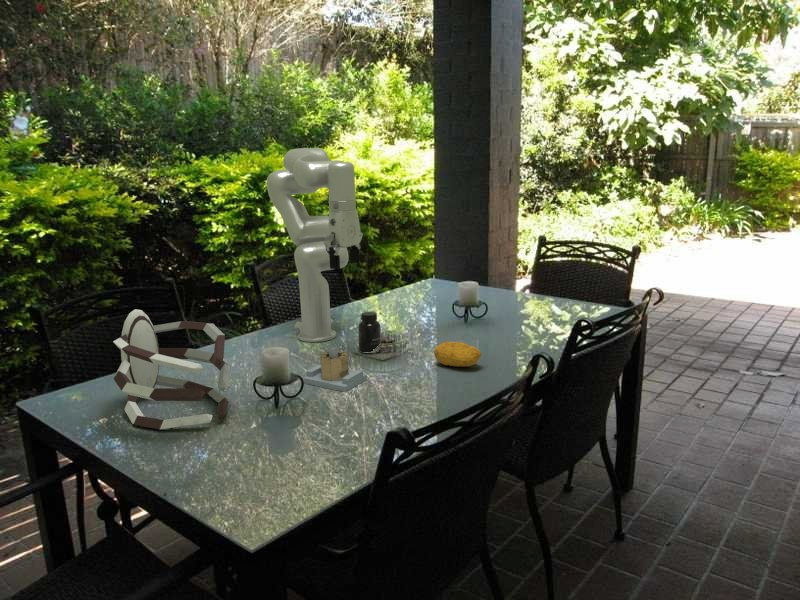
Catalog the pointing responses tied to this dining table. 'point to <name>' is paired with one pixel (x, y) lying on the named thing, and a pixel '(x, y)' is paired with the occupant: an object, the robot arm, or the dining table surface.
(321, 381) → the shaft stand
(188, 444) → the dining table surface
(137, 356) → the disc with segmented arms
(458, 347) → the potato
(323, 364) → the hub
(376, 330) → the supplement bottle
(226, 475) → the dining table surface
